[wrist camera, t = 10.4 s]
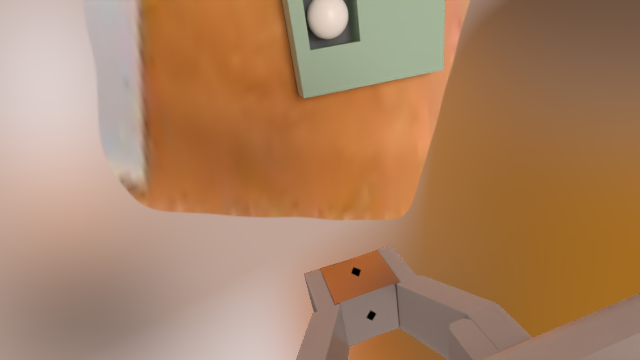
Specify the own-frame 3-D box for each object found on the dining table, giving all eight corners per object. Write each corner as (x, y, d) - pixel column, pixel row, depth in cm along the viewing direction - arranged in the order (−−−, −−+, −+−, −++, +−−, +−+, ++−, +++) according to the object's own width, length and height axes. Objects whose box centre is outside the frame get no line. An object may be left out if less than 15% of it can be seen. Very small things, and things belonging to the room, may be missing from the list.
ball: (303, -7, 29) (348, -12, 28) (304, -3, 32) (344, -8, 32) (309, 42, 30) (351, 37, 30) (309, 40, 34) (347, 36, 34)
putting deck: (271, -60, 30) (275, -70, 27) (428, -78, 32) (446, -89, 30) (298, 94, 36) (304, 98, 33) (428, 67, 38) (443, 69, 36)
